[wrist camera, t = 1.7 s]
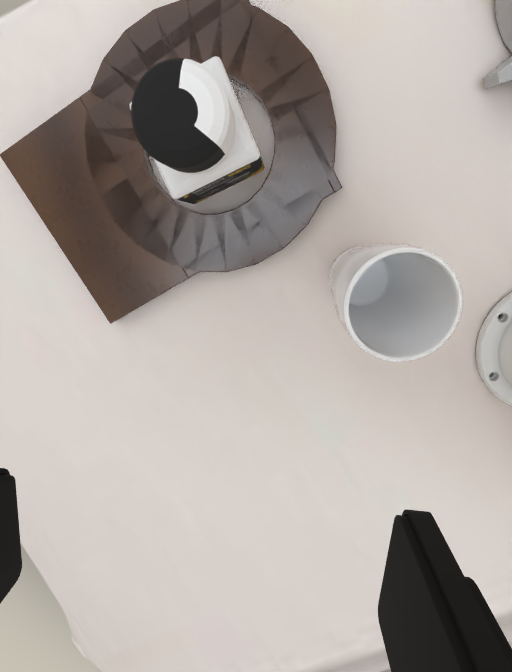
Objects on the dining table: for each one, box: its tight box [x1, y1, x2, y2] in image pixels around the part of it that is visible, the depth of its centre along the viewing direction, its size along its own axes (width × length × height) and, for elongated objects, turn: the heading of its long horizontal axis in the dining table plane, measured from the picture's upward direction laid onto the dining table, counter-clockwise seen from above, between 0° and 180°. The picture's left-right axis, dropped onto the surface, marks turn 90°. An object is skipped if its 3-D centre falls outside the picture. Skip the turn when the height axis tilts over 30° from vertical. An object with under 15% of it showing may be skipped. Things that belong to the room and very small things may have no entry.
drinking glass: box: [329, 243, 463, 362], centre depth 31 cm, size 7×7×15 cm
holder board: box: [0, 0, 342, 323], centre depth 36 cm, size 26×21×2 cm
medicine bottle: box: [129, 56, 264, 204], centre depth 30 cm, size 7×7×12 cm
